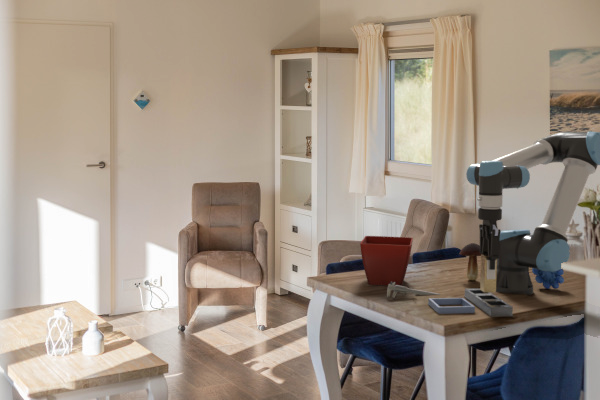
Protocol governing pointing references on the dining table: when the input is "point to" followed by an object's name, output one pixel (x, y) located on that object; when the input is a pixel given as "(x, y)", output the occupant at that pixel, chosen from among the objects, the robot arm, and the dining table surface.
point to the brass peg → (485, 283)
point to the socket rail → (488, 303)
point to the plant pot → (385, 259)
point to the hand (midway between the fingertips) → (488, 277)
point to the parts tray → (465, 308)
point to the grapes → (549, 278)
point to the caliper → (405, 290)
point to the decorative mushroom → (471, 259)
